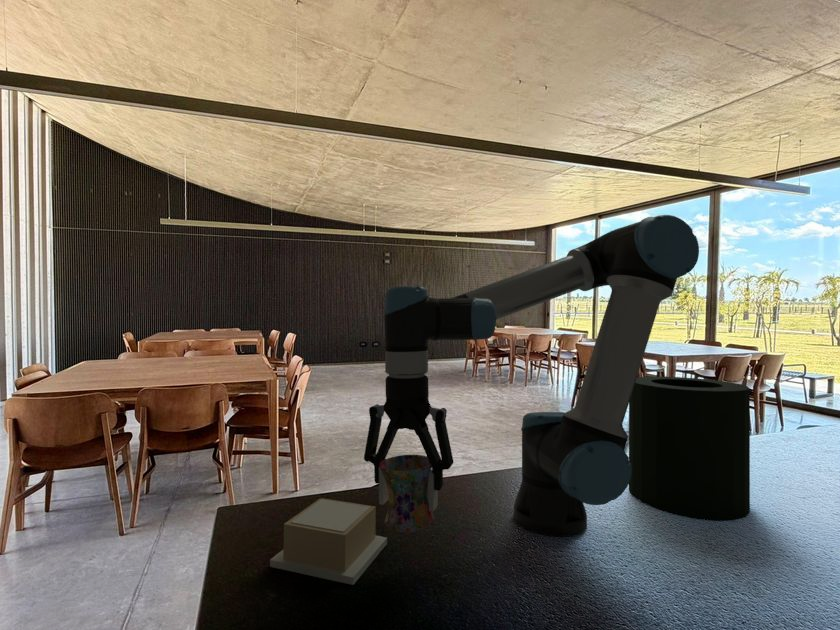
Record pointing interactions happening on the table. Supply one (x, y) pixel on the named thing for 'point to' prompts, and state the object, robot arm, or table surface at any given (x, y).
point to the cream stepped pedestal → (330, 541)
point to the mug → (407, 492)
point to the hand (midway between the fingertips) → (408, 504)
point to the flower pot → (691, 447)
